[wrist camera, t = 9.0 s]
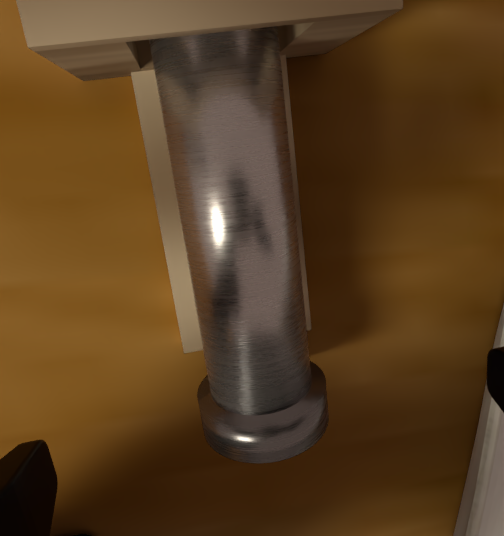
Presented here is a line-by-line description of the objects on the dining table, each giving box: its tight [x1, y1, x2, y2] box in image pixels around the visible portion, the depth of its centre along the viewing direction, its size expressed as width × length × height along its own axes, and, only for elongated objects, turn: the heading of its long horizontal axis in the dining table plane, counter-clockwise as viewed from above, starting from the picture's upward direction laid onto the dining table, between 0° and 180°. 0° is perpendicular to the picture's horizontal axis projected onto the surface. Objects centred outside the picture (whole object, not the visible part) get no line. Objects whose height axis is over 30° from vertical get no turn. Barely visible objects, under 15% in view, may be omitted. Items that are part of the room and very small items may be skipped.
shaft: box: [149, 26, 329, 463], centre depth 12 cm, size 12×4×4 cm, turn 7°
